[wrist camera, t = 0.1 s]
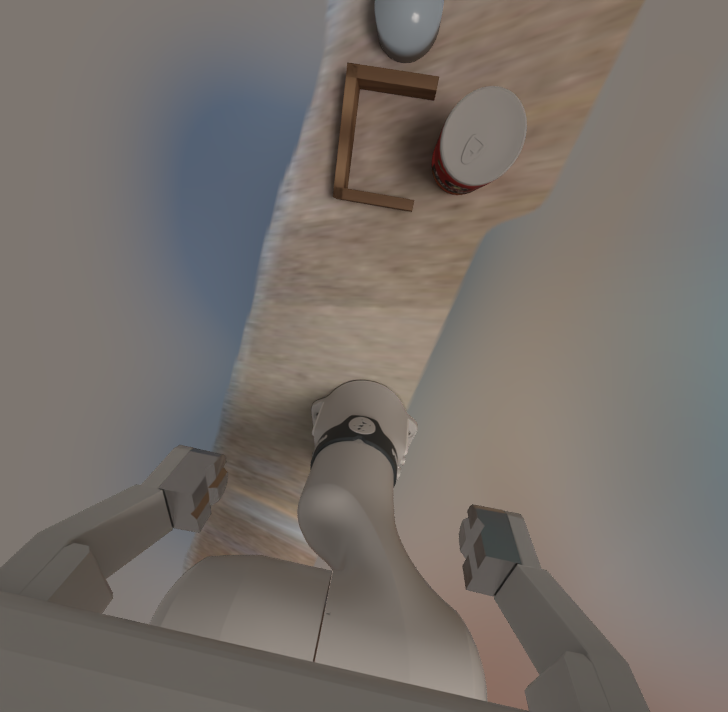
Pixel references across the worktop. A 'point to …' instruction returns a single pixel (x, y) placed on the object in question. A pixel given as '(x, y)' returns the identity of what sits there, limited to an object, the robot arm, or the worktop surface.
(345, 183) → the bay
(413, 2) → the grey rounded cylinder
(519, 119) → the canned food
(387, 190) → the worktop surface
